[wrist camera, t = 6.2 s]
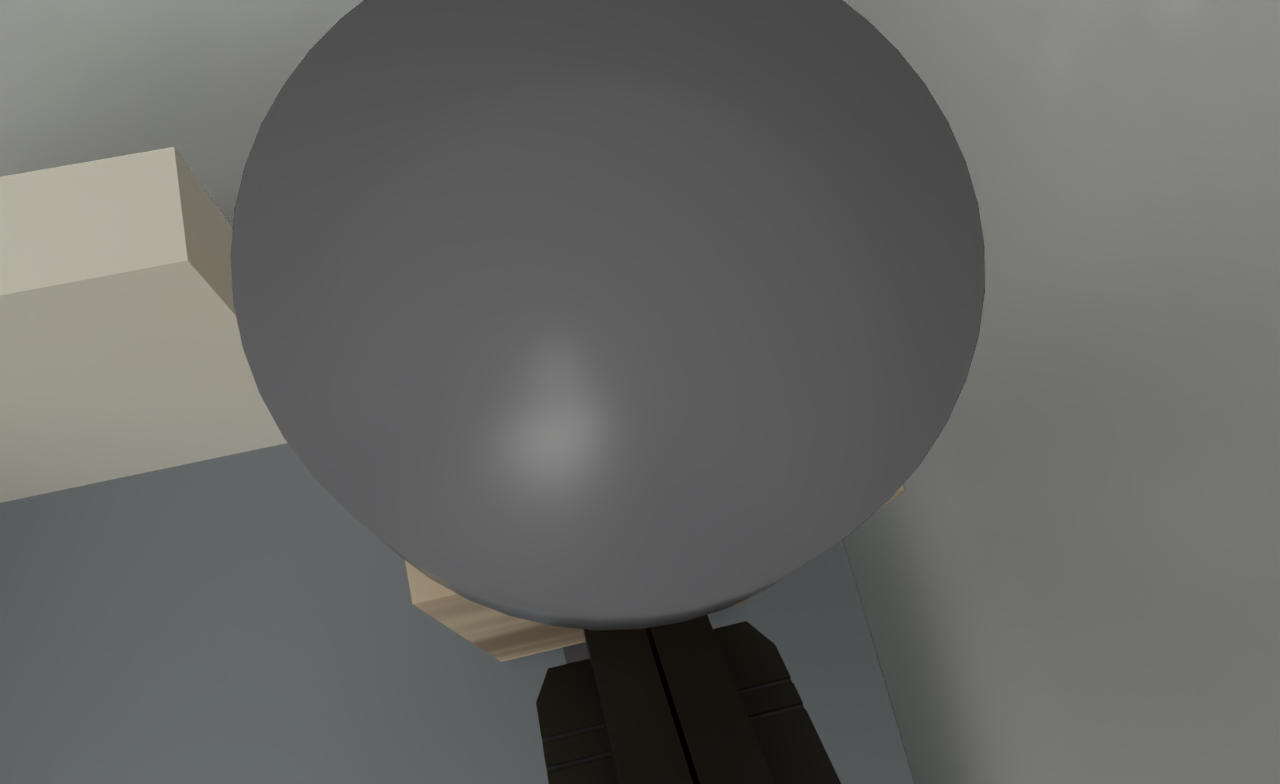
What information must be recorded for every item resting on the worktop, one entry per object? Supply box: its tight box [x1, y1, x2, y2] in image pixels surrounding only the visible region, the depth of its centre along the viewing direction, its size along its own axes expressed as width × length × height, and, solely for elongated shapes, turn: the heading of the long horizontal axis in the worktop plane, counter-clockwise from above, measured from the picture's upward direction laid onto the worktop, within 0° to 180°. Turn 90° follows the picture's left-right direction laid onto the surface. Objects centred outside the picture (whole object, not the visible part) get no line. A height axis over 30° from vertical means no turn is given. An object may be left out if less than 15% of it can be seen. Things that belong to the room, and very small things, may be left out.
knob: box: [230, 0, 985, 662], centre depth 12 cm, size 5×5×11 cm
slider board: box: [0, 147, 915, 784], centre depth 14 cm, size 24×13×10 cm, turn 103°
